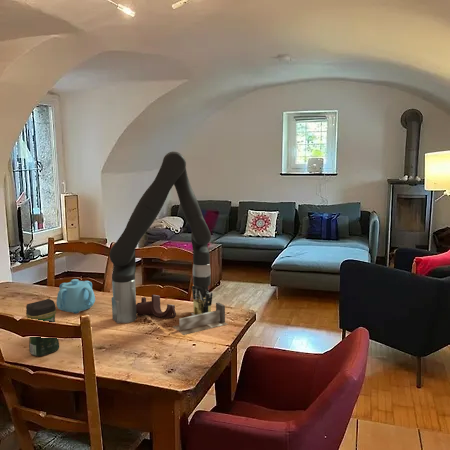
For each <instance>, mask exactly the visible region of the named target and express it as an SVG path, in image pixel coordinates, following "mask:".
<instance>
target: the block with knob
mask: <svg viewBox="0 0 450 450" xmlns="http://www.w3.org/2000/svg"><path fill="white" fill-rule="evenodd" d="M203 299H206V298H203ZM192 303H193V304H192V305H193V313H194V314H197V315H198V314H203V303H202V301H201V298H200V299H196V300H195V299H193V301H192ZM208 312H212V305H211V306H208Z"/></svg>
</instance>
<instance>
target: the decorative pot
mask: <svg viewBox="0 0 450 450" xmlns="http://www.w3.org/2000/svg"><path fill="white" fill-rule="evenodd" d="M95 303H96V296H95V292H94V290H93V283H92V281H89V280H79V279H78V278H74V279H71V280H70V281H69V282H62V283H60V284H59V290H58V292H57V296H56V303H55V304H56V308H57V309H58V310H60V311H63V312H67V313H73V314H80V312H81V311H85V310H89V309H91V307H93V306H94V304H95Z"/></svg>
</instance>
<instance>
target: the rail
mask: <svg viewBox="0 0 450 450" xmlns="http://www.w3.org/2000/svg"><path fill="white" fill-rule="evenodd" d="M178 320H179V321H178V322H179V323H178V325H173V326H172V328H173V329H174V330H176V331H177V332H178V333H180V334H182V335H183V336H187V335H191V334H194V333H198V332H199V333H200V332H203V331H206V330H207V331H208V330H211V329H215V328H218V327H219V328H220V327H223V326H227V325H229V324H228V323H227V322H226V306H225V305H224V304H222V303H220V302H218V301H217V302H216V303H215V310H211V312H207V313H203V314H198V315H190V316H185V317H180V318H178Z"/></svg>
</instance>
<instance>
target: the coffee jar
mask: <svg viewBox="0 0 450 450" xmlns="http://www.w3.org/2000/svg"><path fill="white" fill-rule="evenodd" d="M25 308H26V309H25V311H26V312H25V314H26V318H27V319H28V318H31V319H38V320H43V321H49V322H55V323H56V314H57V306H56V303H55V301H54V300H52V299H50V298H46V299H41V300H39V301H35V302H30V303H27V304H26V307H25ZM28 337H29V336H28ZM28 339H29V340H28V341H29V342H28V346H29V349H28V352H29V353H30V355H32V356H33V357H42V356H46V355H49V354H52V353H54V352H57V351H58V350H59V349H60V342H59V338H58V339H57V338H41V337H29V338H28Z"/></svg>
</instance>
